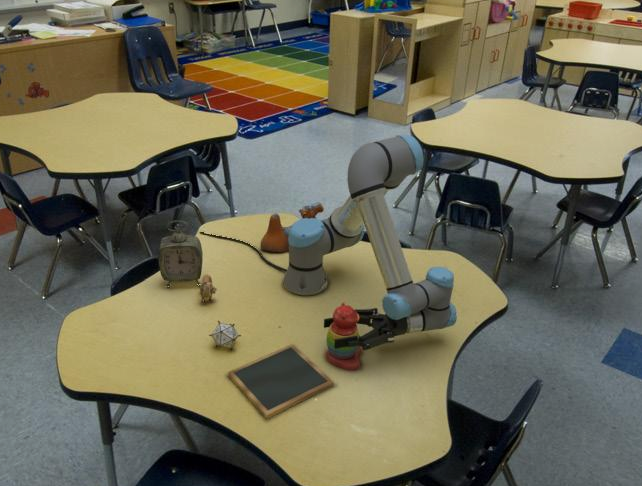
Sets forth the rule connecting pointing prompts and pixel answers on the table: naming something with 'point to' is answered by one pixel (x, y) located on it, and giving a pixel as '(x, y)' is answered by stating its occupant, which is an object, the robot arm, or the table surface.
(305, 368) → the chalkboard
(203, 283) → the lion figurine
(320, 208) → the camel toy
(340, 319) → the stacking bear
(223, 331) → the game die
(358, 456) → the table surface
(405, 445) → the table surface
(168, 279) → the tabletop clock
